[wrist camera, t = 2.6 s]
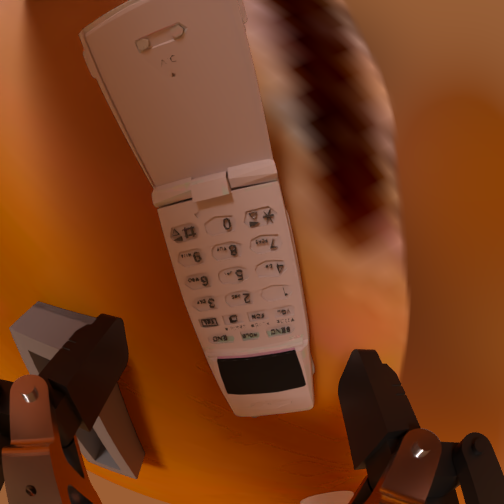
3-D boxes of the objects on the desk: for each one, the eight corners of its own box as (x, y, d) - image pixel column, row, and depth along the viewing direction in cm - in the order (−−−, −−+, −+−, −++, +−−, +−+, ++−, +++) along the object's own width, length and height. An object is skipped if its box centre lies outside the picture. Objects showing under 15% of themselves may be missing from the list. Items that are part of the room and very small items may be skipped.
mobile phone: (229, -39, 5) (325, 462, 13) (245, 24, 10) (317, 398, 19) (73, 26, 6) (234, 469, 14) (137, 58, 11) (242, 407, 20)
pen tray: (38, 301, 17) (9, 327, 13) (100, 319, 17) (72, 354, 13) (98, 438, 24) (88, 461, 21) (145, 453, 24) (137, 479, 21)
